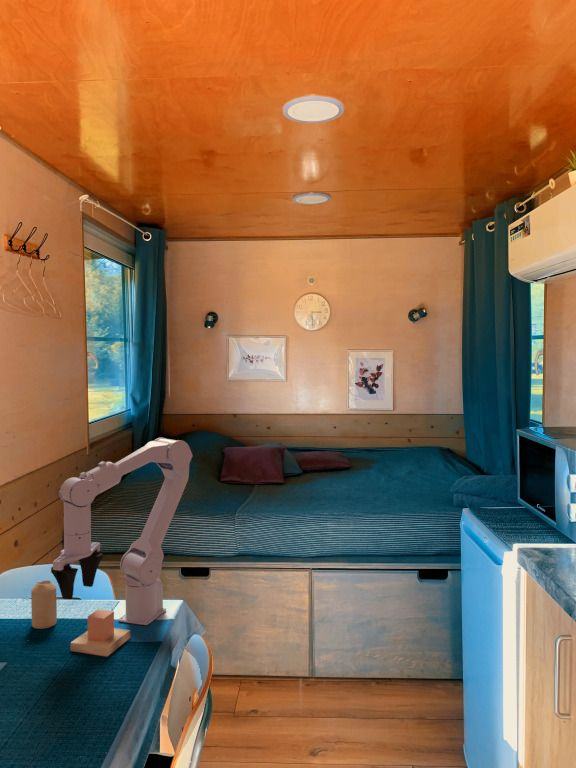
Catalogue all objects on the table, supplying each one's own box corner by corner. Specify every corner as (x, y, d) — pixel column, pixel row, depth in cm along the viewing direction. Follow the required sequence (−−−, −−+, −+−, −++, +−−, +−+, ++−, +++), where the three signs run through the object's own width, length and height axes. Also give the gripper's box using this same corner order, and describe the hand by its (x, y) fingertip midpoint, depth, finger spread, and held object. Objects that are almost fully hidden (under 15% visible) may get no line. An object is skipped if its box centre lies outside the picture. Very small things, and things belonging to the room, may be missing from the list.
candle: (47, 630, 140) (47, 587, 139) (26, 628, 141) (26, 585, 140) (61, 620, 145) (60, 579, 145) (40, 618, 146) (40, 577, 146)
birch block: (95, 636, 138) (95, 625, 138) (130, 641, 135) (130, 630, 135) (70, 654, 129) (70, 642, 129) (107, 659, 127) (107, 647, 127)
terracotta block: (98, 631, 135) (98, 609, 135) (114, 633, 134) (113, 611, 133) (87, 639, 131) (87, 616, 131) (103, 641, 130) (103, 618, 130)
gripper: (81, 522, 143) (82, 579, 143) (40, 539, 129) (41, 602, 129) (107, 524, 141) (108, 582, 141) (68, 542, 127) (69, 605, 127)
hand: (78, 592), depth 135 cm, fingers open, 7 cm apart
